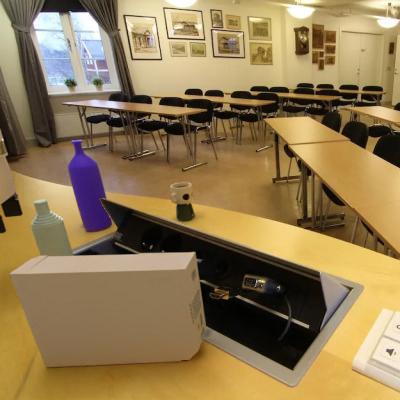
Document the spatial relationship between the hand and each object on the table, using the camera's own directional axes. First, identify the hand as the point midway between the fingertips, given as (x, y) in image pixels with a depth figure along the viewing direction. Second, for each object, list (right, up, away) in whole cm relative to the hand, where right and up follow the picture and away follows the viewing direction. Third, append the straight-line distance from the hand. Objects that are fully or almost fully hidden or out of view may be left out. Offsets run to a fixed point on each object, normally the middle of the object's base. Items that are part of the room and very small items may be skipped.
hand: (5, 224), depth 73 cm
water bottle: (0, -13, +16) cm, 20 cm away
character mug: (+22, -1, +46) cm, 51 cm away
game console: (+36, -24, -12) cm, 44 cm away
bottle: (-5, -4, +38) cm, 39 cm away
